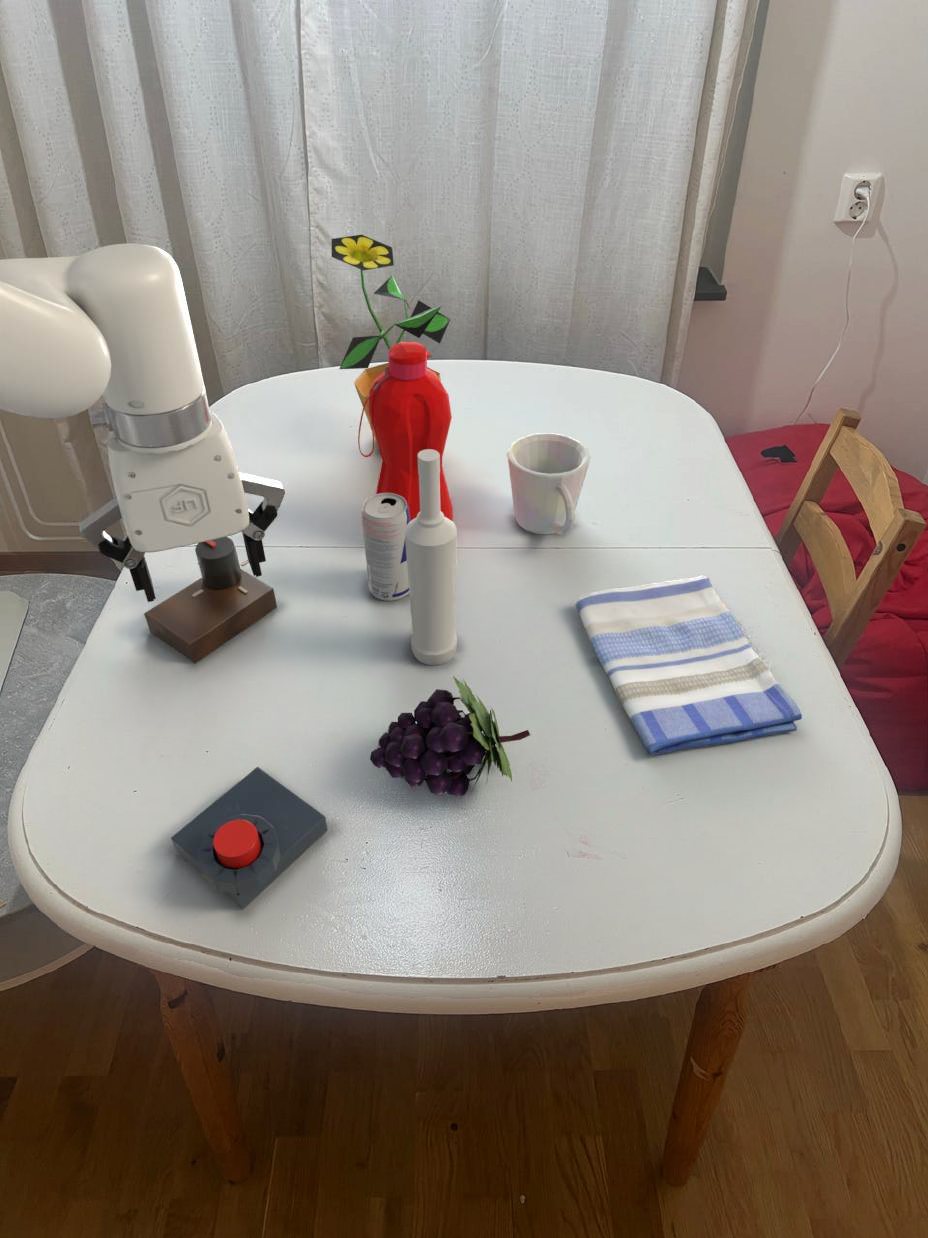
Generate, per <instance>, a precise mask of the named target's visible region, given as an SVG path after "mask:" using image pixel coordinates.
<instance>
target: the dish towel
mask: <svg viewBox="0 0 928 1238" xmlns="http://www.w3.org/2000/svg"><path fill="white" fill-rule="evenodd" d="M575 607H576V610H577V612H578V614H579V616H580V619H581V623H582V625H583V627H584V630H585V632H586V634H587V636H588V639H589V642H590V645H591V646H592V649H593V651H594V654H595V656H596V657H597V660H598V661H599V663H600V665H601V667H602V669H603V670H604V672H605V674H606V675H607V676H608V679H609V680H610V682H611V685H612V687H613V689H614V692H615V694H616V697H617V698H618V701H619V702H620V704H621V706H622V707H623V709H624V711H625V712H626V714H627V716H628V718H629V720H630V722H631V724H632V726H633V727H634V729H635V731H636V733H637V735H638V737H639V739H640V741H641V743H642V744H643V746H644V748H645V749H646V751H647V753H648V754H650V755H661V754H665V753H670V752H676V751H680V750H686V749H694V748H700V747H709V746H716V745H720V744H729V743H730V744H731V743H736V742H740V741H744V740H748V739H755V738H760V737H764V736H765V737H766V736H772V735H778V734H783V733H790V732H797V729H798V728H797V725H796V723H795V722H796V721H799V720H802V717H803V714H802V712H801V709H800V707H799V706H798V705H797V703H796V702H795V700H794V699H793V698H792V697H791V696H790V694H788V692H787V691H786V690H785V689H784V688H783V687H782V685H781V684H780V683H779V682H778V681H777V680H776V679H775V677H774V675H773V674H772V673H771V670H770V668H769V667H768V665H767V663H766V662H765V660H764V659H763V658H762V657H761V656H759V655H758V654H757V653H756V652H755V650H754V649H753V648H752V646H751V645H750V643H749V641H748V638H747V635H746V633H745V631H744V630H743V628H742V626H741V625H740V623H739V621H738V620H737V619H736V617H735V616H734V615H733V613H732V612H731V610H729V609H728V608H727V606H726V605H725V603H724V602H723V600H722V599H721V598H720V597H719V595H718V593H717V592H716V590H715V589H714V588H713V584H712V582H711V580H710V578H709V577H707V576H704V575H702V574H701V575H699V576H696V577H689V578H688V577H687V578H686V577H685V578H678V579H672V580H665V581H659V582H651V583H645V584H642V585H636V586H629V587H622V588H619V587H613V588H609V589H602V590H597V591H592V592H588V593H586V594H583V595H581V596H579V597H578V599H577V600H576V601H575Z"/></svg>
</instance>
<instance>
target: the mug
mask: <svg viewBox="0 0 928 1238" xmlns="http://www.w3.org/2000/svg"><path fill="white" fill-rule="evenodd" d="M506 457H507V466H508V472H509V481H510V488H511V495H512V503H513V512H514V517H515V521H516V523H517V524H518V525H519V527H521V528H522V529H523V530H525V531H527V532H530V533H533V534H535V535H536V534H537V535H554V534H555V535H556V534H558V535H563V536H564V535H567V534H569V533H570V532H572V529H573V528H574V524H575V520H576V519H575V518H576V509H577V506H578V502H579V499H580V495H581V492H582V489H583V486H584V482H585V479H586V476H587V472H588V468H589V466H590V462H591V454H590V452H589V449H588V448H587V447H586V446H585V445H584V444H583V443H582V442H581V441H579V440H577V439H575V438H574V437H571V436H567V435H564V434H561V433H553V432H552V433H551V432H543V433H542V432H541V433H533V434H527V435H524V436H522V437H519V438H518V439H515V441H514V442H512V444H510V446H509V447H508V450H507V453H506Z"/></svg>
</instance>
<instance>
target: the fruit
mask: <svg viewBox="0 0 928 1238" xmlns="http://www.w3.org/2000/svg"><path fill="white" fill-rule="evenodd" d="M452 678H453V680H454V683H455V685H456V687H457V688H458V692H459V696H460V697H459V696H457V697H454V695H453V694H452V692H450V691H448V690H446V689H440V688H439V689H438V688H436V689H435V690H434V691H433V693H432V694H431V695H430V696H429V698H427V699H426V700H424V701H422V700H420V702H419V703H418V705H417V706H416V707H415V708H414V710H413V712H400V714H399V715H398V716H397V721H391V722H390V724H389V725H388V729H387V732H386V731H385V732H384V733H383V734H382V735H381V737H379V739H378V746H379V747H376V748H375V749H374V750H372V751H371V752H370V756H369V757H370V758H369V760H370V761H371V764H372V765H373V766H374V767H376V768H378V769H385V770H386V771H387V772H388V774H389V776H390V777H391V778H393V779H403V780H404V781H405V782H406V784H407V785H408V786H409V787H410V788H417V787H421V786H422V785H423V783H424V782H425V784H426V786H427V789H428V791H429V793H430V794H433V795H442V794H445V793H446V794H448V795H450V796H453V797H456V798H461V797H463V796H464V795H465V794H466V793H467V792H468V791H469V787H470V782H471V781H475V782H474V785H473V788H472V790H471V792H470V794H469V795H471V794H472V792H473V790H474V789H475V787H476V785H477V783H478V781H479V780H480V777H481V775H482V773H483V770H484V769H485V767H486V764H487V775H489V773H490V769H491V766H492V762H493V764H494V767H497V769H499V772H501V777H502V778H503V777H504V776H506V777H508V779H509V780H510V782H513V775H512V769H511V764H510V761H509V758H508V755H507V754H506V751H505V748H504V746H503V744H504V743H508V742H509V743H510V742H515V741H521V740H523V739H526V738H528V737H530V736H531V733H530V731H529V729H526V730H524V731H523V730H522V731H520V732H517V733H515V734H512V735H500V730H499V725H498V720H497V716H496V713H495V709H494V708H492V707H490V710H489V711H488V709H487V707H486V706H485V704H484V703H483V701H482V700H481V699H480V697H479V696H478V695H477V694H474V693H473V691H472V690H471V688H470V686H469V685H468V684H467V682H466V680H464V678H462V679H463V681H462V680H458V678H457V677H456V676H454V675H453V676H452ZM475 695H476V696H475ZM455 700H460V701H461V702H462V704H463V705H464V707H465V708H466V709H467V711H468V712H469V713H465V711H464V710H463V709H458V708H457V706H456V705H455ZM461 714H463V716H462V715H461ZM477 765H478V766H479V765H480V766H479V769H478V770H477V772H476V774H475V776H474V777H472V778H469V777H468V776H469V775H470V774H471V772H472V771H473V769H475V767H476V766H477ZM488 779H489V776H487V778H486V781H488ZM487 784H488V782H486V783H485V785H487Z"/></svg>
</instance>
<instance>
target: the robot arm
mask: <svg viewBox="0 0 928 1238" xmlns="http://www.w3.org/2000/svg"><path fill="white" fill-rule="evenodd" d="M191 321H192V320H191V317H190V313H189V307H188V303H187V298H186V295H185V289H184V285H183V280H182V276H181V273H180V269H179V266H178V265H177V263H176V261H175V260H174V259H173V257H172V256H171V255H170V254H169V252H166V251H165V250H163V249H162V248H159V247H157V246H153V245H149V244H144V243H115V244H109V245H105V246H101V247H98V248H97V247H96V248H94V249H91V250H90V251H87V252H85V253H83V254H81V255H70V256H55V257H54V256H53V257H20V258H19V257H17V258H1V259H0V410H3V411H6V412H10V413H12V414H15V415H16V414H17V415H21V416H24V417H25V416H26V417H31V418H35V419H36V418H37V419H47V420H48V419H49V420H53V419H65V418H69V417H73V416H76V415H78V414H81V413H82V412H85V411H86V410H88V409H89V408H91V407H92V406H93V405H95V404H96V402H98V400H100V398H101V397H103V398H104V402H101V405H102V406H101V407H97V409H94V410H88V417H89V420H90V424H91V427H92V429H99V428H103V429H109V432H108V435H107V453H108V454H107V455H108V463H109V469H110V474H111V479H112V480H111V481H112V484H113V488H114V493H115V497H114V498H112V499H111V500H109V502H107V503H106V504H104V505H102V506H101V507H100V508H98V509H97V510H95V511H94V512H93V513H91V514H90V515H89V516H87V517H86V518H84V519H83V520H81V521H80V522H79V525H78V526H79V534H80V537H82V538H83V539H85V540H86V541H87V542H88V543H89V544H90V545H92V546H93V547H94V548H96V549H97V550H98V551H99V554H101V555H102V556H105V557H107V558H109V559H112V560H114V561H117V562H119V563H122V566H123V567H124V568H125V569H128V570H129V572H130V576H131V579H132V583H133V585H134V588H135V591H136V592H139V591H144V594H145V598H146V600H147V602H148V603H151V602H154V601H155V600H156V593H155V589H154V588H155V587H154V583H153V579H152V576H151V573H150V570H149V567H148V564H147V563H148V562H147V560H146V557H145V554H146V553H158V552H162V551H163V552H164V551H168V550H172V549H177V548H182V547H187V546H192V545H197V544H198V543H201V542H205V541H210V540H214V539H219V538H223V537H230V536H234V535H237V534H240V533H242V537H243V538H242V539H243V542H244V548H245V552H246V556H247V560H248V561H249V563H248V564H249V567H250V569H251V572H252V576H254V577H255V578H258V577H261V576H262V575H263V573H262V569H261V563H265V562H267V560H266V559H267V558H266V555H265V554H266V553H265V549H264V543H263V539H264V538H265V536H266V531H267V530H268V528H269V527H270V526H271V524H273V522H274V521H275V520H276V518H277V517H278V515H279V514H278V511H279V508H280V507H281V505H282V502H283V500H284V497H285V495H286V490H285V488H284V485H283V483H282V482H281V481H278V480H275V479H270V478H265V477H261V476H257V475H253V474H248V473H243V472H240V470H239V467H238V462H237V459H236V455H235V452H234V449H233V447H232V444H231V441H230V439H229V435H228V434H227V431H226V429H225V427H224V425H223V423H222V421H221V420H220V418H219V417H218V415H217V414H216V413H214V412H213V411H211V410H210V405H209V400H208V396H207V391H206V387H205V383H204V378H203V373H202V369H201V368H202V367H201V363H200V360H199V359H200V358H199V354H198V349H197V344H196V340H195V335H194V333H193V332H194V331H193V325H192V322H191ZM246 494H249V495H254V496H259V497H263V500H262V501H261V502H260V504H259V505H258V506H257V507H256V508H255V510H254V511H252V510H251V509H249V507H248V502H247V498H246ZM121 519H122V522H123V526H124V528H125V532H126V534H125V536H124V537H123V539H121V538H119V537H116V536H114V535H112V534H109V533H107V532H106V531H105V530H107V529H108V528H110V527H111V526H112V525H114V524H116V523H117V522H118V521H119V520H121Z"/></svg>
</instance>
